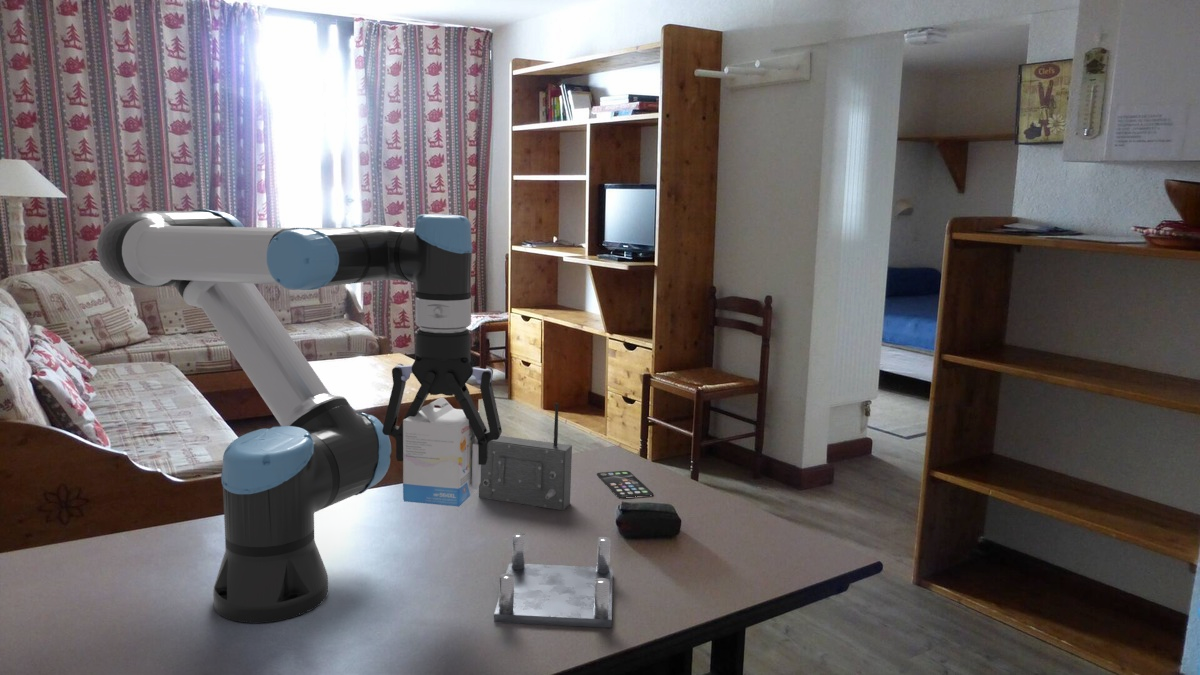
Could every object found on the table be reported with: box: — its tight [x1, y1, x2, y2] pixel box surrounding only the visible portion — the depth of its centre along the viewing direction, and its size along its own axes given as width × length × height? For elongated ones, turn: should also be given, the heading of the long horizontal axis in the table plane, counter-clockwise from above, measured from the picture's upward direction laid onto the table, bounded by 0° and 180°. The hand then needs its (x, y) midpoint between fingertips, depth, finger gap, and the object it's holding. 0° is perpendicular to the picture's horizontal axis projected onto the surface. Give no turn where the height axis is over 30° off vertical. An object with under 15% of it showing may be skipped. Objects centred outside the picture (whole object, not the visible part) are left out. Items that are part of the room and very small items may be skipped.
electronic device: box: [478, 402, 573, 511], centre depth 160 cm, size 17×7×20 cm, turn 73°
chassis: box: [493, 532, 614, 629], centre depth 125 cm, size 16×16×6 cm
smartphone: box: [596, 470, 654, 499], centre depth 173 cm, size 7×1×15 cm
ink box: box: [402, 396, 481, 508], centre depth 122 cm, size 9×8×13 cm
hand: (442, 484), depth 122 cm, fingers closed on ink box, 9 cm apart
